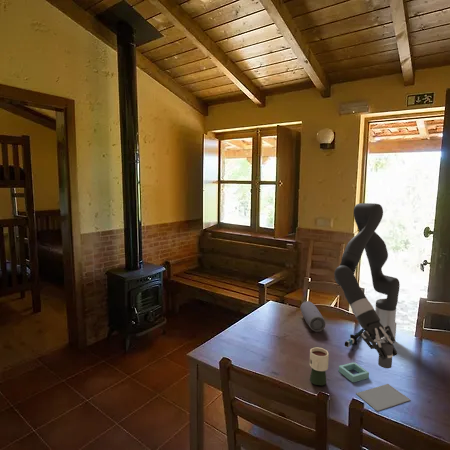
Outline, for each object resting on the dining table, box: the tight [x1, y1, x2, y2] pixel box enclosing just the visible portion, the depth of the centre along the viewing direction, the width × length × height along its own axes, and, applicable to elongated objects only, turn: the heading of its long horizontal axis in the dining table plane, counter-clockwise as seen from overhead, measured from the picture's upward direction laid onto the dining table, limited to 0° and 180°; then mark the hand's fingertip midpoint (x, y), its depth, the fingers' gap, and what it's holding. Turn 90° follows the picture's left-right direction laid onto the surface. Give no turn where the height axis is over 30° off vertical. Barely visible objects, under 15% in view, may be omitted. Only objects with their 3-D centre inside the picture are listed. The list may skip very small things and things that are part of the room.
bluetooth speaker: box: [299, 300, 326, 333], centre depth 179 cm, size 23×9×10 cm, turn 179°
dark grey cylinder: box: [377, 343, 394, 369], centre depth 117 cm, size 5×5×8 cm
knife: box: [344, 327, 365, 348], centre depth 161 cm, size 31×3×4 cm, turn 137°
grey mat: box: [355, 383, 411, 412], centre depth 119 cm, size 16×10×1 cm, turn 111°
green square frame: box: [338, 361, 370, 383], centre depth 133 cm, size 8×8×2 cm
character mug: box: [309, 347, 330, 386], centre depth 127 cm, size 11×7×13 cm, turn 153°
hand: (390, 356), depth 115 cm, fingers closed on dark grey cylinder, 4 cm apart
